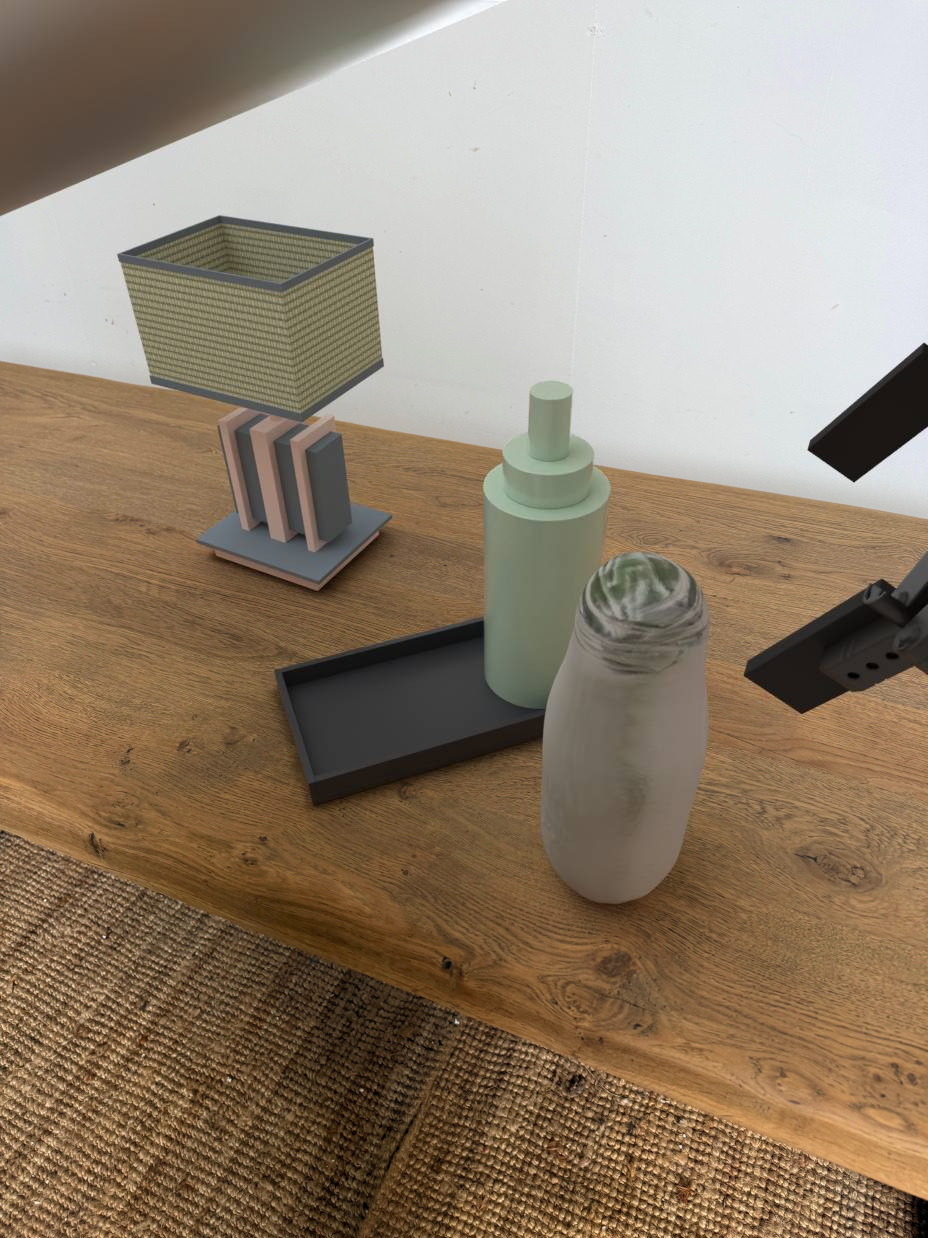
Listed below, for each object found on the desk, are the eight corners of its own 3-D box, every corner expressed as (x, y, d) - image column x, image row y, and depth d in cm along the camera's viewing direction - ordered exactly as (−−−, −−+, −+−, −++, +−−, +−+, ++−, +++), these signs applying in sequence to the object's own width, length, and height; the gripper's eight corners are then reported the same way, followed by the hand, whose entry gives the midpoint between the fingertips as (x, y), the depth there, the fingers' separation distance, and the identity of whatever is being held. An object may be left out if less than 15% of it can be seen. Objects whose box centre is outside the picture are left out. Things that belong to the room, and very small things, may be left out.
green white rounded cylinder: (520, 829, 68) (532, 533, 50) (642, 804, 70) (696, 508, 52) (560, 943, 60) (590, 643, 43) (695, 911, 62) (779, 610, 44)
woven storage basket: (399, 534, 100) (375, 237, 79) (327, 602, 90) (278, 284, 70) (273, 496, 107) (221, 214, 86) (195, 555, 97) (114, 254, 76)
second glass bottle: (471, 698, 78) (466, 413, 60) (498, 628, 85) (500, 356, 67) (581, 718, 76) (610, 428, 58) (598, 645, 83) (628, 368, 65)
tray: (312, 806, 70) (308, 784, 68) (278, 691, 80) (273, 669, 79) (651, 704, 78) (654, 682, 76) (580, 612, 88) (582, 590, 87)
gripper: (1940, 579, 12) (830, 874, 29) (1469, 3, 26) (908, 433, 43) (1553, 265, 11) (650, 758, 29) (1284, -153, 25) (789, 348, 43)
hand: (805, 562), depth 36 cm, fingers open, 13 cm apart
